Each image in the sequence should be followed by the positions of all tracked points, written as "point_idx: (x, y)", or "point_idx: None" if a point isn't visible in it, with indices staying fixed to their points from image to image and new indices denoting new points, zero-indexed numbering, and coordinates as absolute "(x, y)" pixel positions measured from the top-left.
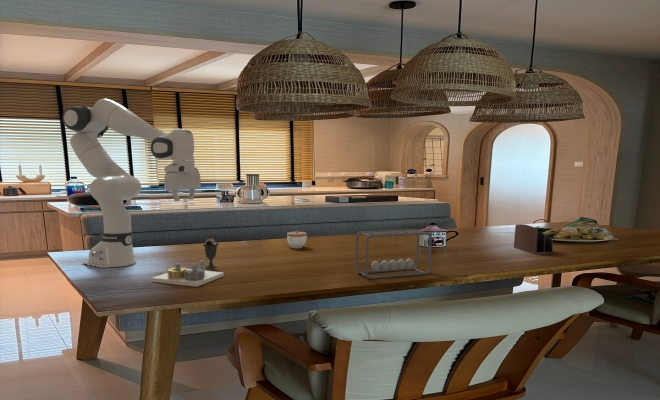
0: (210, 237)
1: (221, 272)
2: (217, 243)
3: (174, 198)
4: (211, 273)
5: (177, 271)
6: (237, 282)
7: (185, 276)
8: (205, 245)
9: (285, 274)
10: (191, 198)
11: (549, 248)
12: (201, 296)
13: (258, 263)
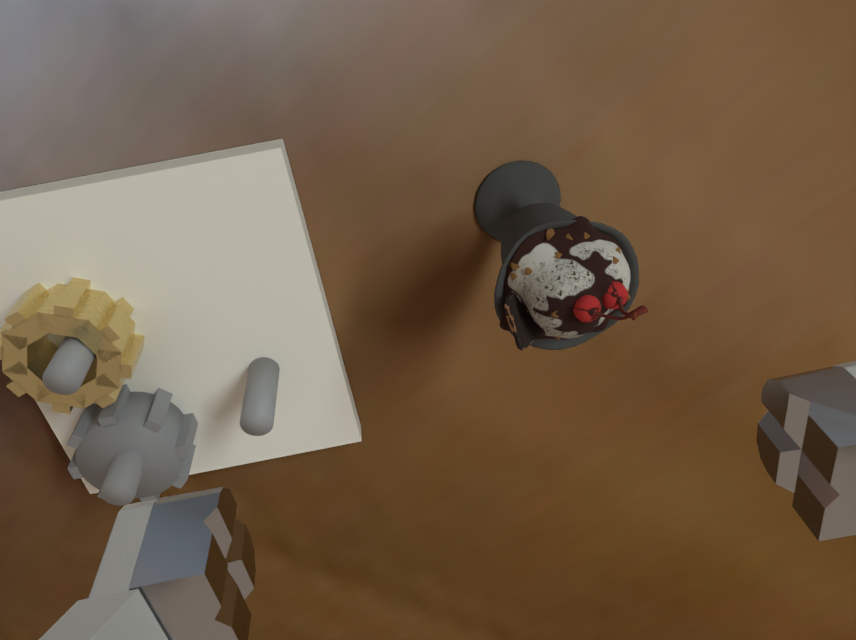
0: (583, 321)
1: (352, 433)
2: (623, 308)
3: (110, 567)
4: (297, 410)
5: (35, 399)
6: (300, 545)
7: (77, 422)
8: (497, 289)
9: (555, 589)
10: (772, 478)
11: None
12: (11, 590)
13: (750, 361)
